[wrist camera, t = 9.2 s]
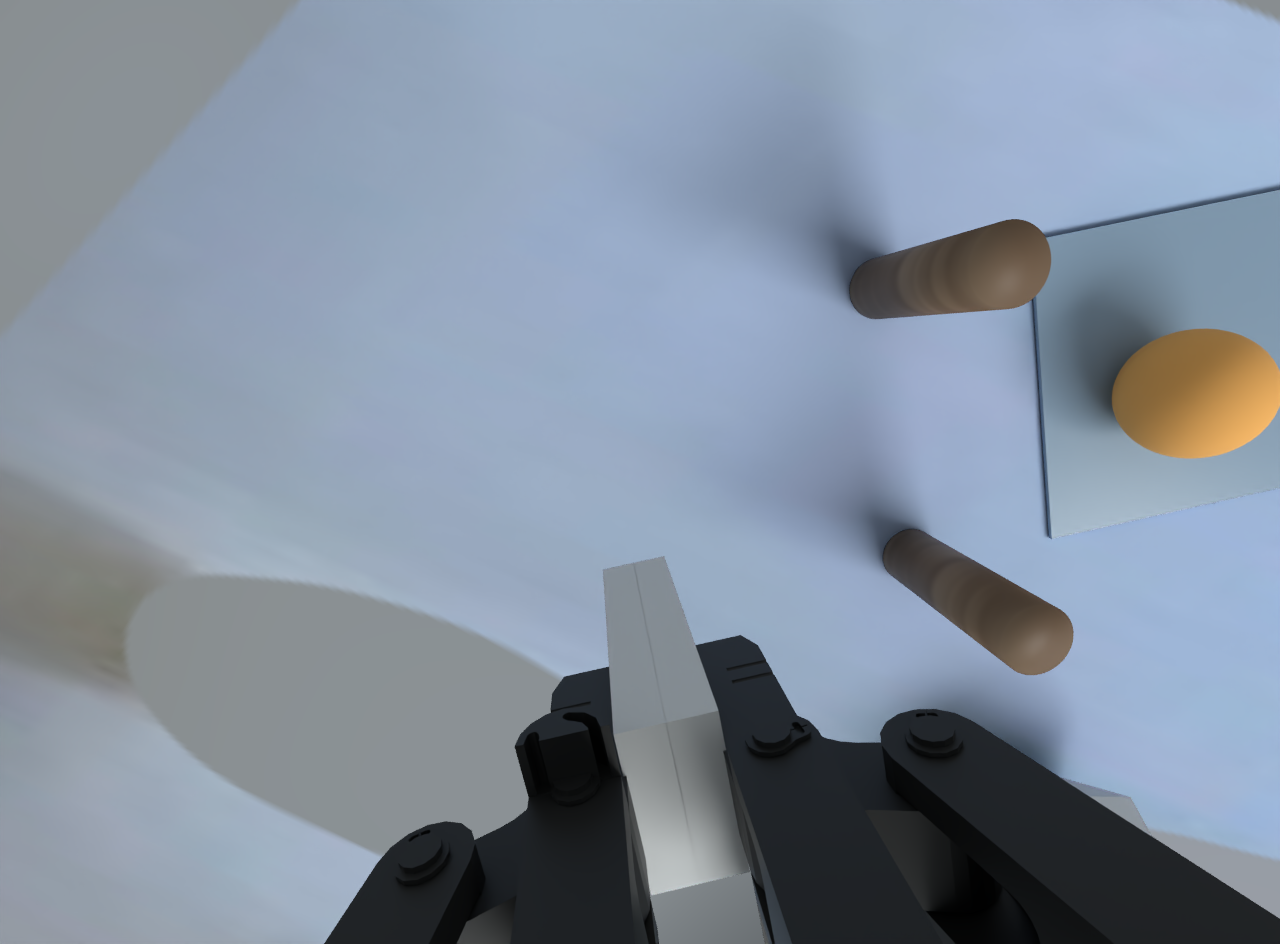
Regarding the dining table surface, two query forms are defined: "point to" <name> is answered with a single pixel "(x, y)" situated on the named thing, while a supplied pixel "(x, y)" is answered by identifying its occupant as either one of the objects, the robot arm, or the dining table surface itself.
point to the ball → (1196, 393)
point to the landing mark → (1128, 320)
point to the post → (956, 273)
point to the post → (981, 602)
